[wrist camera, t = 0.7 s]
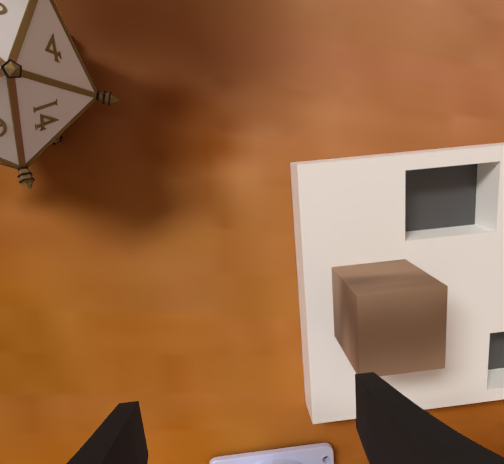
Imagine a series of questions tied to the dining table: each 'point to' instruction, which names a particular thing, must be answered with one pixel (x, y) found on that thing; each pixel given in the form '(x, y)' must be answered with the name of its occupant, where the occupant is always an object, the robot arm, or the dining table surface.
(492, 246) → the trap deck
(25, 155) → the game die
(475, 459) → the robot arm
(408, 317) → the walnut block
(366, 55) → the dining table surface
